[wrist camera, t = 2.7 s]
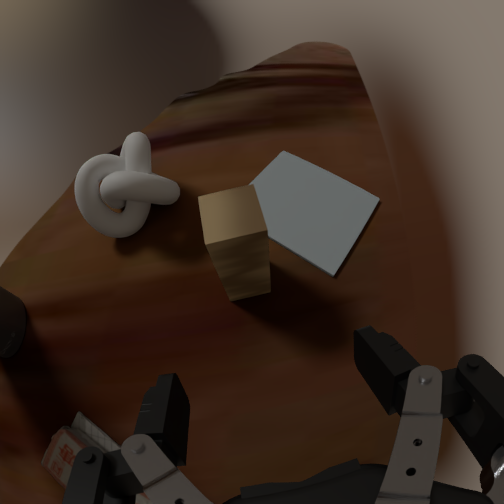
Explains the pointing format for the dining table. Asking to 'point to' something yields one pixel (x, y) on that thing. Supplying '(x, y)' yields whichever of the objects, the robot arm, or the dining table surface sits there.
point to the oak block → (237, 240)
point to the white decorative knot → (122, 188)
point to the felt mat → (312, 210)
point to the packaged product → (78, 449)
